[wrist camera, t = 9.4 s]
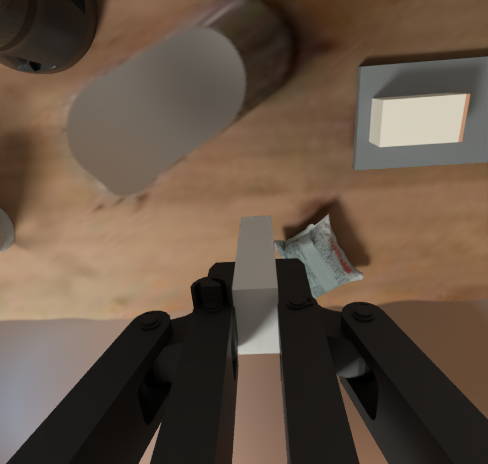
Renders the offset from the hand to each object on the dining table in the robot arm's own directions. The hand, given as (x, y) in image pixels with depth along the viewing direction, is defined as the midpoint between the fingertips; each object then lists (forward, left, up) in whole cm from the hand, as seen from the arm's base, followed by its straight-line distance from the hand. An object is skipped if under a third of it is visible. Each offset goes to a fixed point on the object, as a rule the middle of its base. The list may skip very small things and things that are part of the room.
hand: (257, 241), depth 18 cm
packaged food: (+17, -6, -30) cm, 35 cm away
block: (+15, +18, -26) cm, 35 cm away
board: (+14, +16, -29) cm, 36 cm away
